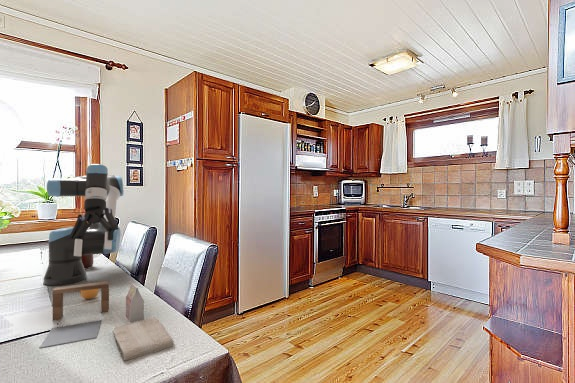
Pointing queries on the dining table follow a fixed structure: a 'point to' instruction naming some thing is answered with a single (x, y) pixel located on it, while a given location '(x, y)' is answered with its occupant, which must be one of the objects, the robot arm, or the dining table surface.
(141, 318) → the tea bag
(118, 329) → the washcloth
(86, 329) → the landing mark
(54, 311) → the bridge
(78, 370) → the dining table surface
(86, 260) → the mug
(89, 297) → the ball
